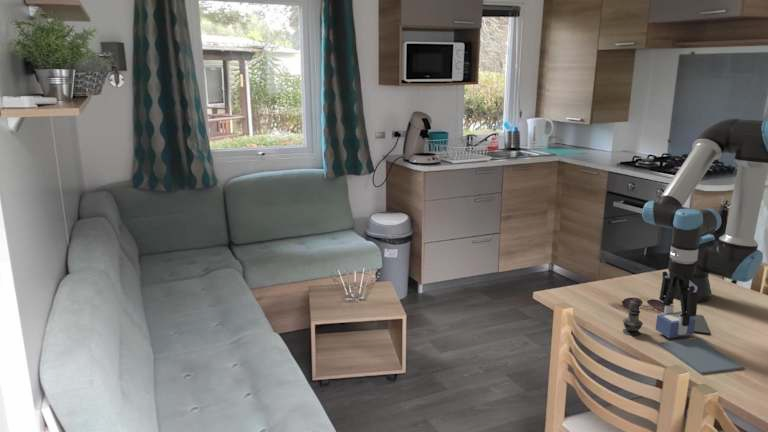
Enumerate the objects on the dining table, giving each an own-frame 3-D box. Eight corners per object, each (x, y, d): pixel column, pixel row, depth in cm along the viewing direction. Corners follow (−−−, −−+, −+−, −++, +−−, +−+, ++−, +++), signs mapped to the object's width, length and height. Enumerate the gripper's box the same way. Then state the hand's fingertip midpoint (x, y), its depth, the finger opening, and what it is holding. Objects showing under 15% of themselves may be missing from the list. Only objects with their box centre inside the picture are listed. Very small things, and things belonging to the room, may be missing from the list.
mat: (698, 339, 181) (698, 337, 181) (744, 368, 164) (744, 366, 164) (658, 344, 178) (658, 342, 178) (701, 374, 161) (701, 372, 161)
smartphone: (703, 315, 198) (710, 333, 184) (702, 317, 198) (710, 336, 184) (680, 312, 200) (686, 330, 186) (680, 314, 200) (685, 332, 187)
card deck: (679, 325, 188) (681, 311, 186) (693, 334, 182) (695, 319, 181) (655, 329, 186) (657, 314, 184) (668, 338, 180) (671, 323, 179)
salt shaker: (631, 338, 183) (635, 302, 179) (617, 330, 188) (621, 295, 185) (645, 334, 185) (650, 299, 182) (631, 327, 190) (635, 292, 187)
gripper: (651, 251, 186) (644, 317, 192) (694, 272, 168) (685, 344, 174) (672, 248, 187) (664, 315, 193) (717, 269, 169) (707, 341, 175)
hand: (674, 329), depth 184 cm, fingers closed on card deck, 6 cm apart
